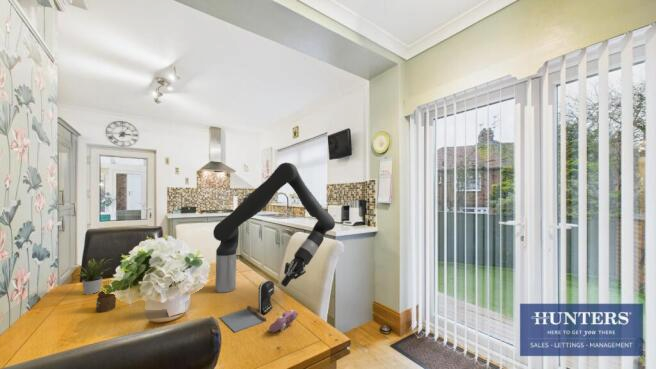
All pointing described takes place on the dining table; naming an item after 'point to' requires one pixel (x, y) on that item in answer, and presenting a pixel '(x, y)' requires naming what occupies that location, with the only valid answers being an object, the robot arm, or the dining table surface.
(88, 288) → the house plant
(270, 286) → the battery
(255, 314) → the strip
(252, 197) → the robot arm
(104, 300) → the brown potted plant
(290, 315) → the purple lumpy piece
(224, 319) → the mat
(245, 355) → the dining table surface
